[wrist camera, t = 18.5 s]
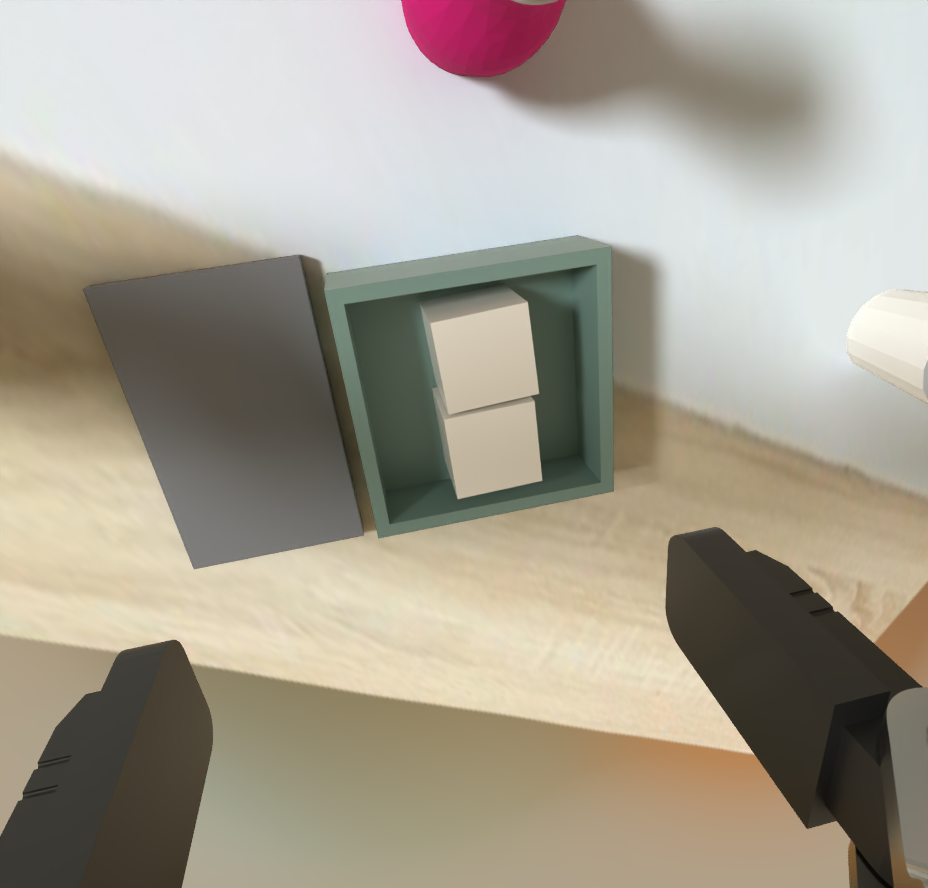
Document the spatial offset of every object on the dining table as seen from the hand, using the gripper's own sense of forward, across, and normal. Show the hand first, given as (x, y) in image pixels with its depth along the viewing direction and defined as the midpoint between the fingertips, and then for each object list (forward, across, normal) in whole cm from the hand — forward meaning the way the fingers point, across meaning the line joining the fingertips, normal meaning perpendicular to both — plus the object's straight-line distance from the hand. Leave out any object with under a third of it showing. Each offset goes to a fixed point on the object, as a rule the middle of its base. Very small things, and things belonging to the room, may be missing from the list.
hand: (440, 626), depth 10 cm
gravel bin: (+28, -5, +6) cm, 29 cm away
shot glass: (+28, -34, +7) cm, 45 cm away
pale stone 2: (+27, -5, +8) cm, 28 cm away
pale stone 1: (+27, -5, +3) cm, 27 cm away
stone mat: (+28, +9, +6) cm, 30 cm away
